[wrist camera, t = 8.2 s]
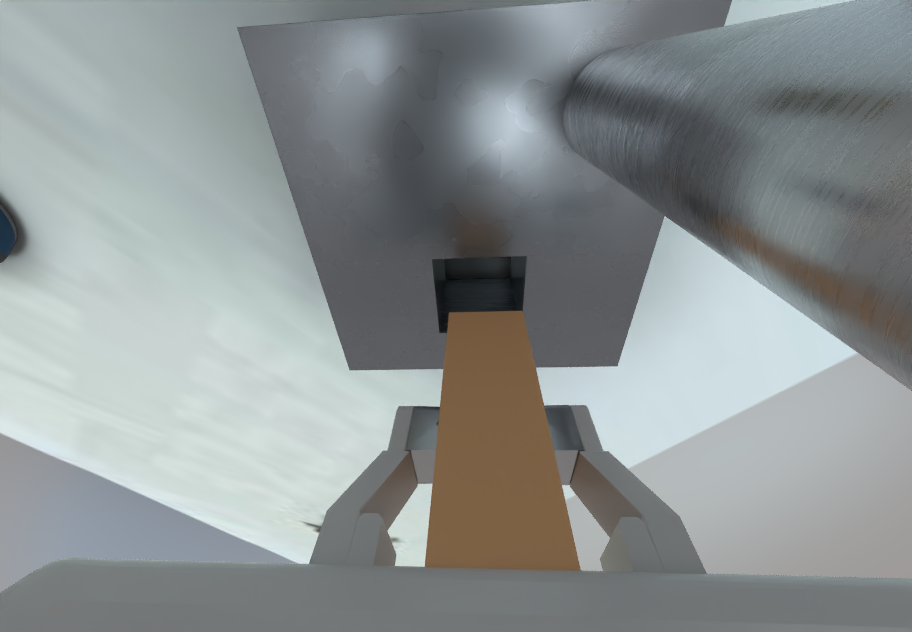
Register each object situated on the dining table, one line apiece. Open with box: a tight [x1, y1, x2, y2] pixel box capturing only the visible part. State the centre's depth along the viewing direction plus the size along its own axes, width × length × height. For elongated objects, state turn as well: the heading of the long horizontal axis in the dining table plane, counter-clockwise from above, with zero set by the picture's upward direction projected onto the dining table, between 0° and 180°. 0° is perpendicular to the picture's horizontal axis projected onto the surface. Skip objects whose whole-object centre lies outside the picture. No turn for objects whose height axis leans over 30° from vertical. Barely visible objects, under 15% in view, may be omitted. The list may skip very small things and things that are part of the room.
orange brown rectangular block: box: [425, 311, 581, 571], centre depth 10 cm, size 3×3×10 cm
